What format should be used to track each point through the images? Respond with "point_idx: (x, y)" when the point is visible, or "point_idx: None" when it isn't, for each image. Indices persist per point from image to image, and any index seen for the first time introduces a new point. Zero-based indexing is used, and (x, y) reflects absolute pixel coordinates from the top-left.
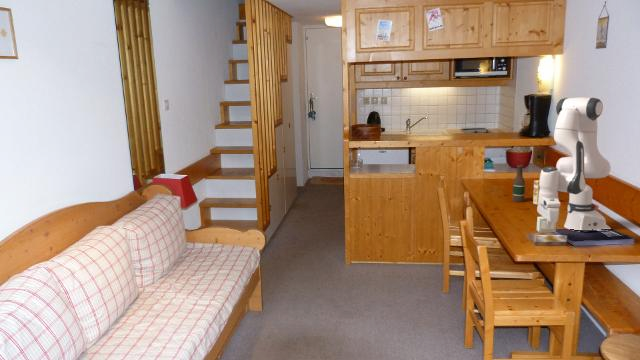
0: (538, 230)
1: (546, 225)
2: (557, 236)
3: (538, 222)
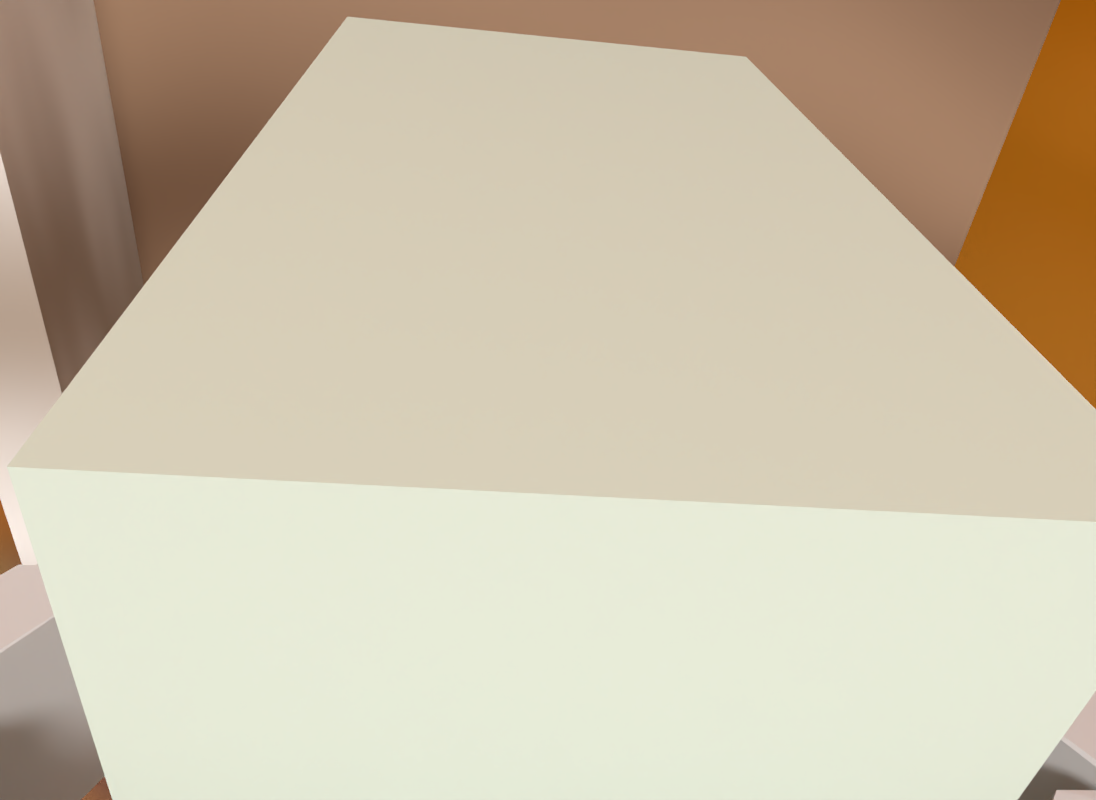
0: (470, 42)
1: None
2: None
3: (558, 212)
